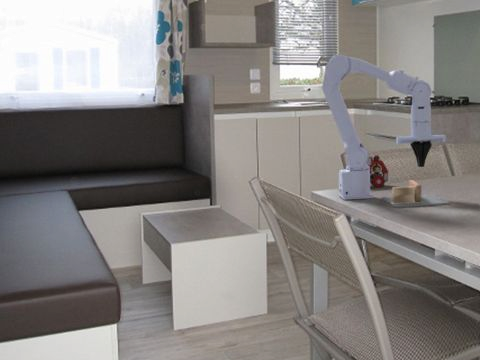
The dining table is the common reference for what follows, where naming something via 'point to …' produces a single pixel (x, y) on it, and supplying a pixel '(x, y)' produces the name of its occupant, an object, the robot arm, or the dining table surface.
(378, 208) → the dining table surface
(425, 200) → the card
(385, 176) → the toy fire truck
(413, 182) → the tan flat block
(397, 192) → the fence fixed
